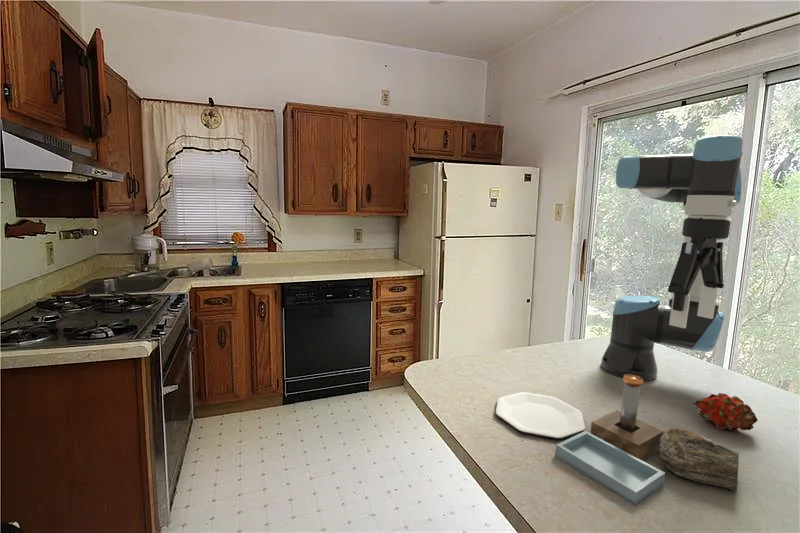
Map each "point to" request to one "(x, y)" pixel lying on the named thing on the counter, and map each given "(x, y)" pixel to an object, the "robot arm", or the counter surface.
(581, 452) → the tray
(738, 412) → the dragon fruit
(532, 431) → the plate
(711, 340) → the robot arm
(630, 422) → the lock pin
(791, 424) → the counter surface
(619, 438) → the block
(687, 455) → the stone
